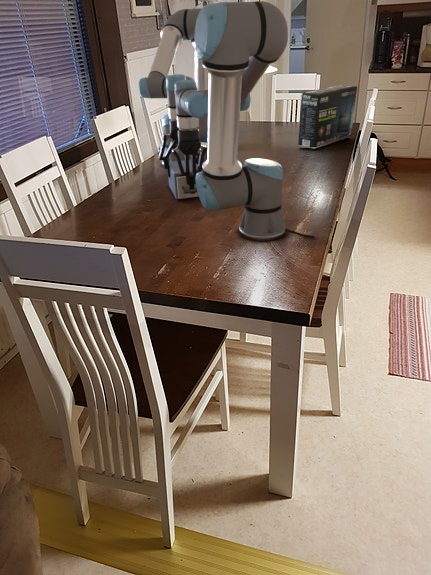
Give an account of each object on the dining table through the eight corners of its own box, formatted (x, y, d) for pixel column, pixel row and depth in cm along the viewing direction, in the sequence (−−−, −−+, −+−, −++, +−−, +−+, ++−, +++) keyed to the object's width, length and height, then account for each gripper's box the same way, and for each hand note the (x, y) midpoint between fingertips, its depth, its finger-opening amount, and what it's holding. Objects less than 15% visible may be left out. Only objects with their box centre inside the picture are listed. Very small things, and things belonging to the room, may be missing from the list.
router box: (314, 151, 231) (318, 94, 217) (296, 148, 237) (299, 92, 224) (352, 138, 251) (358, 85, 238) (335, 135, 258) (340, 83, 245)
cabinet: (203, 195, 181) (202, 170, 176) (176, 199, 179) (174, 173, 174) (194, 183, 195) (193, 159, 190) (169, 186, 193) (166, 162, 188)
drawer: (207, 200, 174) (206, 179, 169) (181, 204, 172) (179, 182, 167) (195, 183, 192) (193, 164, 187) (171, 186, 190) (170, 166, 185)
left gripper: (206, 114, 182) (208, 169, 193) (147, 119, 177) (153, 175, 188) (210, 118, 175) (213, 174, 187) (149, 123, 171) (155, 180, 182)
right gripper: (203, 124, 166) (206, 187, 178) (168, 127, 163) (173, 191, 175) (208, 128, 159) (211, 193, 172) (171, 132, 157) (177, 198, 169)
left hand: (183, 175), depth 188 cm, fingers closed on cabinet, 11 cm apart
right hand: (192, 192), depth 174 cm, fingers closed
